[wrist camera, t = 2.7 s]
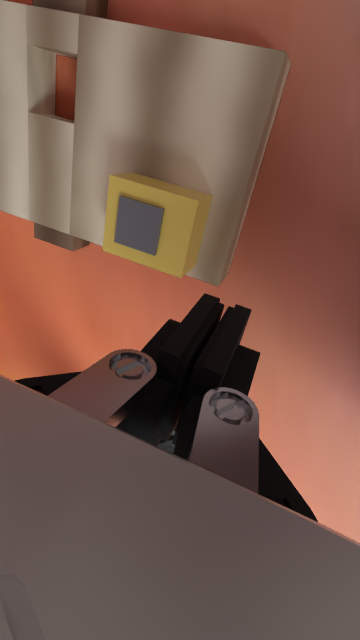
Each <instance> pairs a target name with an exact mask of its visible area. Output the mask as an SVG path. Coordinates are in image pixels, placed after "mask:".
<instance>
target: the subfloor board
mask: <svg viewBox="0 0 360 640" xmlns="http://www.w3.org/2000/svg"><path fill="white" fill-rule="evenodd" d="M107 1H108V0H33V6H32V5H26V4H21V3H15V2H9V1H4V0H0V210H1V211H3V212H6V213H9V214H12V215H15V216H18V217H21V218H23V219H26V220H29V221H32V222H34V236H35V238H38V239H40V240H43V241H46V242H49V243H51V244H54V245H57V246H60V247H63V248H65V249H68V250H71V251H75V250H77V249H80V248H82V247H85V246H88V245H89V242H92V243H95V244H98V245H101V246H103V239H104V228H105V218H106V207H107V197H108V187H109V176H110V175H112V174H122V173H132V172H133V173H136V174H140V175H143V176H147V177H150V178H154V179H157V180H161V181H164V182H167V183H171V184H174V185H178V186H181V187H185V188H188V189H192V190H195V191H199V192H202V193H206V194H209V195H213V197H212V201H211V205H210V210H209V214H208V218H207V222H206V226H205V230H204V234H203V238H202V242H201V246H200V250H199V254H198V259H197V263H196V266H195V267H194V268H193V269H191V270H190V271H189V272H188V273H187V274H186V275H187V276H190V277H192V278H195V279H198V280H201V281H204V282H207V283H210V284H213V285H215V286H219V285H220V284H221V282H222V281H223V280H224V279H225V278H226V276H227V275H228V273H229V269H230V266H231V263H232V259H233V256H234V253H235V249H236V246H237V243H238V239H239V236H240V233H241V229H242V226H243V223H244V219H245V216H246V213H247V209H248V206H249V203H250V199H251V196H252V193H253V189H254V186H255V183H256V179H257V176H258V173H259V169H260V166H261V163H262V159H263V156H264V153H265V149H266V146H267V143H268V139H269V136H270V133H271V129H272V126H273V122H274V119H275V116H276V112H277V109H278V106H279V102H280V99H281V96H282V92H283V89H284V86H285V82H286V79H287V76H288V72H289V69H290V66H291V62H290V60H289V57H288V55H287V52H286V51H281V50H275V49H270V48H264V47H259V46H253V45H248V44H242V43H236V42H231V41H225V40H220V39H214V38H209V37H203V36H198V35H192V34H187V33H181V32H176V31H170V30H164V29H159V28H153V27H148V26H142V25H137V24H131V23H126V22H120V21H115V20H109V19H106V15H107ZM56 54H58V55H62V56H67V57H72V58H76V59H77V72H76V94H75V116H74V120H70V119H66V118H62V117H59V116H55V94H56Z"/></svg>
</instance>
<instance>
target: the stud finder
mask: <svg viewBox="0 0 360 640" xmlns="http://www.w3.org/2000/svg"><path fill="white" fill-rule="evenodd" d="M212 197H213V195H209V194H206V193H202V192H199V191H195V190H192V189H188V188H185V187H181V186H178V185H174V184H171V183H167V182H164V181H161V180H157V179H154V178H150V177H147V176H143V175H140V174H136V173H133V172H132V173H122V174H112V175H110V176H109V187H108V197H107V207H106V218H105V228H104V239H103V249H102V251H105V252H108V253H111V254H114V255H116V256H119V257H122V258H125V259H128V260H131V261H133V262H136V263H139V264H142V265H145V266H148V267H150V268H153V269H156V270H159V271H162V272H165V273H167V274H170V275H173V276H176V277H179V278H182V277H183V276H184V275H186V274H187V273H188V272H189V271H190V270H191V269H193V268H194V267H195V266H196V263H197V259H198V254H199V250H200V246H201V242H202V238H203V234H204V230H205V226H206V222H207V218H208V214H209V210H210V205H211V201H212Z"/></svg>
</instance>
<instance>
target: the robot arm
mask: <svg viewBox="0 0 360 640" xmlns="http://www.w3.org/2000/svg"><path fill="white" fill-rule="evenodd" d="M219 302H220V298H217V297H214V296H211V295H208V294H204V295H203V296H202V297H201V298H200V300H199V301H198V302H197V303H196V305H195V306H194V307H193V308H192V310H191V311H190V312H189V313H188V314H187V316H186V317H185V318H184V319H183V321H182V322H181V323H180V322H177V321H174V320H172V319H169V320H168V321H167V322H166V323H165V324H164V325H163V327H162V328H161V329H160V330H159V331H158V332H157V333H156V334H155V336H154V337H153V338H152V339H151V340H150V341H149V342H148V343H147V345H146V346H145V347H144V348H143V349H142V350H141V351H138V350H133V349H121V350H116V351H113V352H111V353H109V354H108V355H106V356H105V357H103V358H102V359H100V360H99V361H98V362H96V363H95V364H93V365H92V366H90V367H89V368H87V369H86V370H84V371H83V372H75V373H67V374H58V375H50V376H41V377H33V378H25V379H20V380H15V381H13V380H11V379H9V378H7V377H4V376H2V375H0V640H360V543H358V542H356V541H354V540H352V539H350V538H348V537H346V536H344V535H342V534H341V533H339V532H337V531H335V530H333V529H331V528H329V527H327V526H325V525H323V524H320V523H318V521H317V519H316V517H315V515H314V514H313V512H312V510H311V509H310V507H309V506H308V505H307V503H306V502H305V500H304V499H303V498H302V496H301V495H300V494H299V492H298V491H297V489H296V488H295V487H294V485H293V484H292V483H291V481H290V480H289V478H288V477H287V476H286V474H285V473H284V472H283V470H282V469H281V467H280V466H279V465H278V463H277V462H276V460H275V459H274V458H273V456H272V455H271V454H270V452H269V451H268V449H267V448H266V447H265V445H264V444H263V443H262V441H261V440H260V438H259V413H258V409H257V407H256V405H255V404H254V402H253V401H252V400H251V399H250V398H249V397H248V393H249V390H250V386H251V383H252V380H253V376H254V373H255V370H256V366H257V363H258V360H259V356H260V352H257V351H254V350H252V349H249V348H246V347H244V346H241V345H239V344H240V341H241V338H242V335H243V333H244V330H245V327H246V324H247V321H248V319H249V316H250V313H251V309H248V308H245V307H243V306H240V305H237V304H236V305H235V307H234V308H233V307H230V306H229V307H228V308H227V310H226V312H225V313H224V315H223V317H222V318H221V315H222V312H223V308H224V304H221V303H219ZM220 318H221V320H220ZM219 321H220V322H219ZM177 422H178V423H177ZM176 424H177V427H176V430H175V434H174V437H173V441H172V444H174V445H175V448H174V451H173V454H172V453H170V452H167V451H165V450H163V449H161V448H159V447H157V446H158V444H159V442H160V440H161V439H163V440H165V441H168V439H169V437H170V435H171V433H172V431H173V430H174V428H175V426H176Z"/></svg>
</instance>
